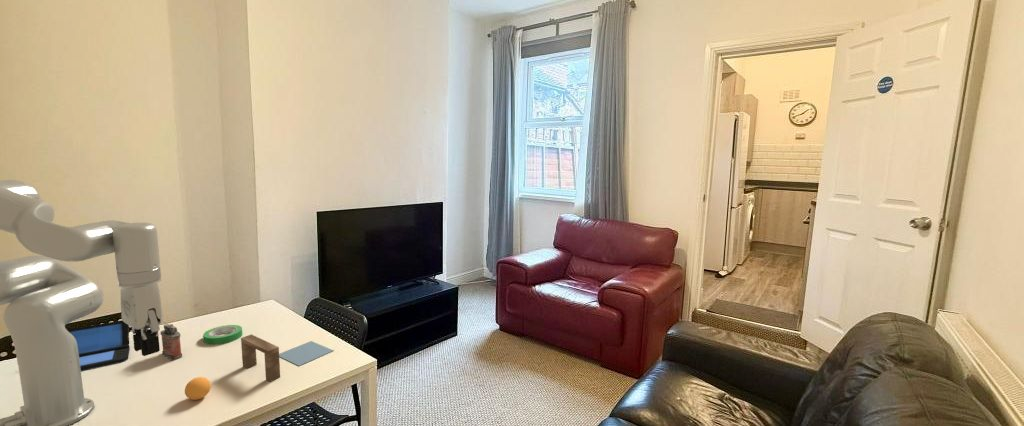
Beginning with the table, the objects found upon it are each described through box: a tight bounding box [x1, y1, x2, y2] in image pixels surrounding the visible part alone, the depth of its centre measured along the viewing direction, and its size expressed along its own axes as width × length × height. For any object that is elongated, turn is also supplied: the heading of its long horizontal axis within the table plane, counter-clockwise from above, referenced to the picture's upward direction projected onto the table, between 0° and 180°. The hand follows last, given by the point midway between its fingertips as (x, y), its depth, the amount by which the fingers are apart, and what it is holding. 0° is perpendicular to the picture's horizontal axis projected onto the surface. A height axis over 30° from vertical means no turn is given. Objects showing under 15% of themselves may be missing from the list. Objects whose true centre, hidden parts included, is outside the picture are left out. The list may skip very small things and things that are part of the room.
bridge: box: [240, 334, 281, 382], centre depth 123 cm, size 3×14×9 cm, turn 59°
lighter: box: [159, 323, 183, 361], centre depth 130 cm, size 8×3×10 cm, turn 62°
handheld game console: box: [66, 319, 131, 372], centre depth 127 cm, size 16×13×9 cm
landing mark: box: [279, 340, 335, 367], centre depth 135 cm, size 12×12×1 cm
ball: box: [184, 376, 212, 401], centre depth 109 cm, size 6×6×6 cm
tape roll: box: [202, 324, 243, 346], centre depth 144 cm, size 11×11×3 cm
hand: (147, 350), depth 99 cm, fingers open, 3 cm apart
